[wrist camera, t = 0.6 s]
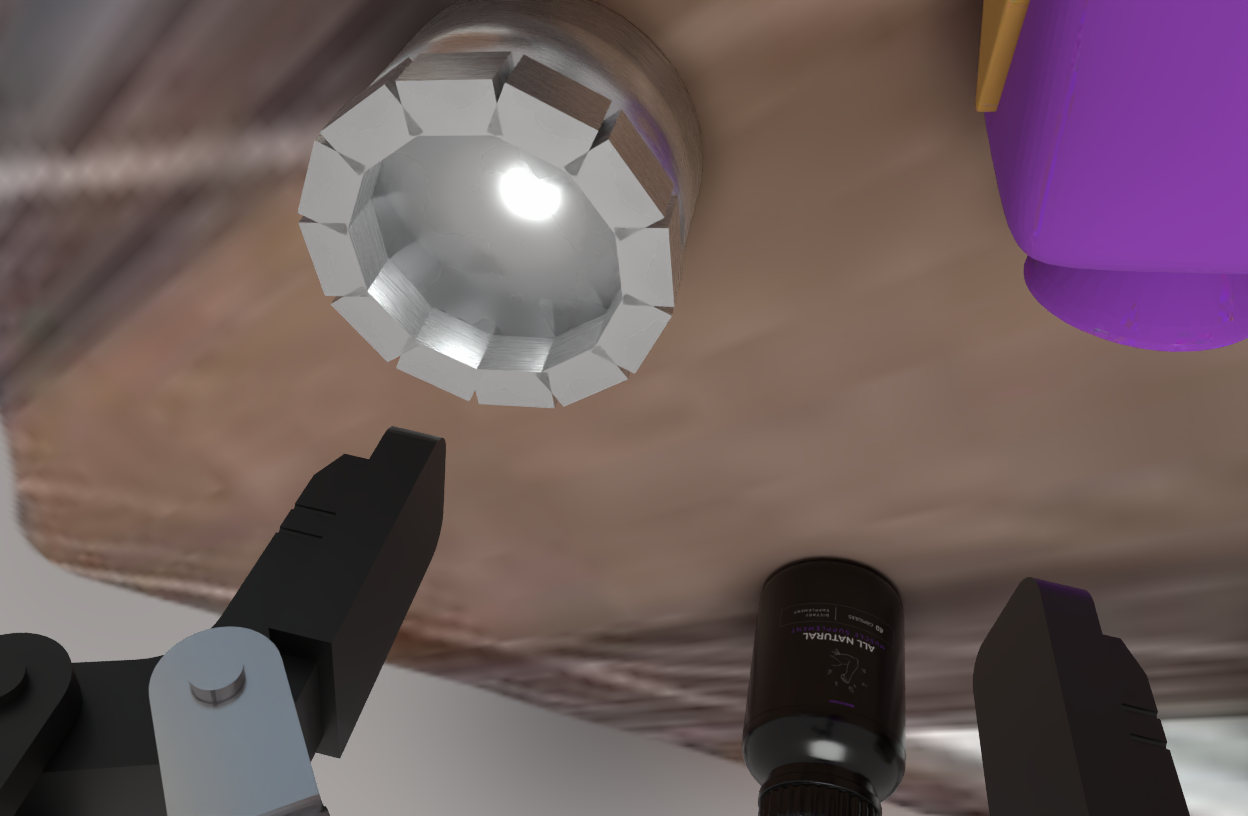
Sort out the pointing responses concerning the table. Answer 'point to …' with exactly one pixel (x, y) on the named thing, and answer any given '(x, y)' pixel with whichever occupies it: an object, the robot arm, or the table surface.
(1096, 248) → the toy camera
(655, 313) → the glass candle holder
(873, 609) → the supplement bottle
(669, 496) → the table surface
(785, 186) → the table surface
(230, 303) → the table surface
